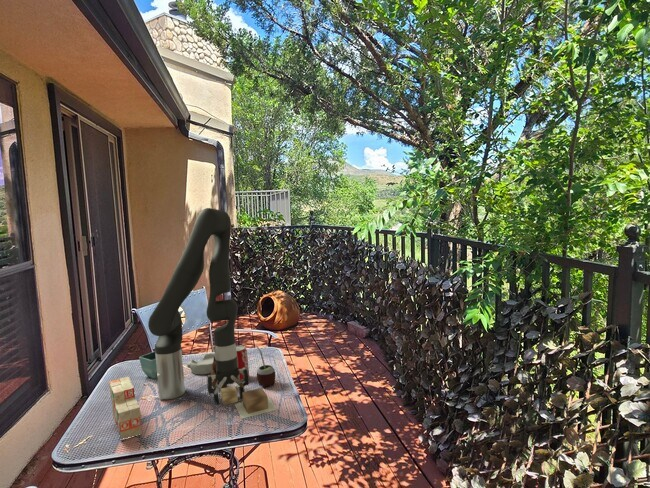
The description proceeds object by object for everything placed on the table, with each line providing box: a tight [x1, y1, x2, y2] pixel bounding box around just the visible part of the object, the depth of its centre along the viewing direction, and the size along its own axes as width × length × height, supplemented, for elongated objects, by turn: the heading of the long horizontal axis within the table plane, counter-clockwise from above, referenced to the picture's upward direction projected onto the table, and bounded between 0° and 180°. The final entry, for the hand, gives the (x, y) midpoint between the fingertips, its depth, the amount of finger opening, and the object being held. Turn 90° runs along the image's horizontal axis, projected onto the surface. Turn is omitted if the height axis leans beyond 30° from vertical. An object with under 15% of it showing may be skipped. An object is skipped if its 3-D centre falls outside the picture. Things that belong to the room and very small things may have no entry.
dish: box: [186, 352, 215, 375], centre depth 178 cm, size 14×14×5 cm
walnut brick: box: [242, 387, 269, 414], centre depth 140 cm, size 7×7×4 cm
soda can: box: [236, 345, 250, 382], centre depth 165 cm, size 7×7×13 cm
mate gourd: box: [256, 345, 276, 390], centre depth 156 cm, size 8×8×15 cm
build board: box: [234, 395, 278, 419], centre depth 140 cm, size 12×11×1 cm
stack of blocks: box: [108, 376, 143, 439], centre depth 134 cm, size 21×6×12 cm, turn 33°
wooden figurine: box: [210, 357, 228, 391], centre depth 157 cm, size 7×6×15 cm
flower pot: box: [138, 350, 158, 379], centre depth 174 cm, size 9×9×9 cm
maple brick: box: [219, 385, 239, 406], centre depth 146 cm, size 5×5×5 cm
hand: (229, 400), depth 146 cm, fingers open, 8 cm apart
